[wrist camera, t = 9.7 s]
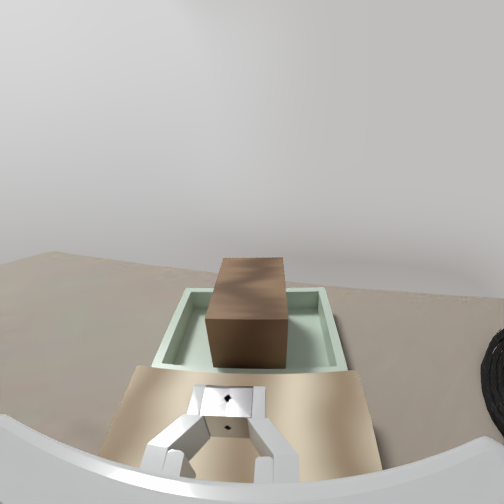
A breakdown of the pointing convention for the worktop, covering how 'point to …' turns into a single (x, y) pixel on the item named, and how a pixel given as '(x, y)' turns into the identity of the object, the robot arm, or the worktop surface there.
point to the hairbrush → (494, 380)
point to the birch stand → (277, 410)
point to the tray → (298, 343)
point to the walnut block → (248, 315)
